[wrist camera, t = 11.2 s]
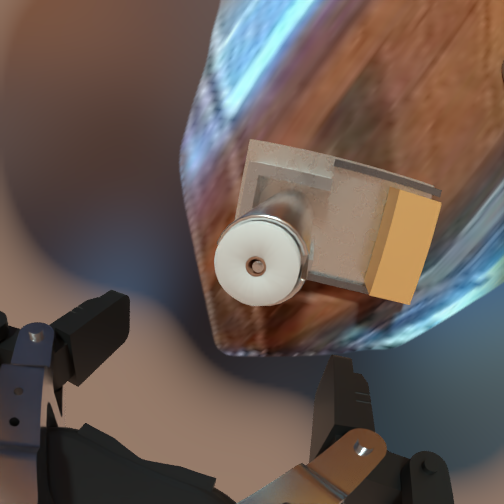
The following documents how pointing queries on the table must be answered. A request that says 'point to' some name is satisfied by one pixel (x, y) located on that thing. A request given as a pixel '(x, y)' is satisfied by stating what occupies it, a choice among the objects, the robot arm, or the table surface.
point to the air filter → (267, 250)
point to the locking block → (401, 245)
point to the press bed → (328, 205)
